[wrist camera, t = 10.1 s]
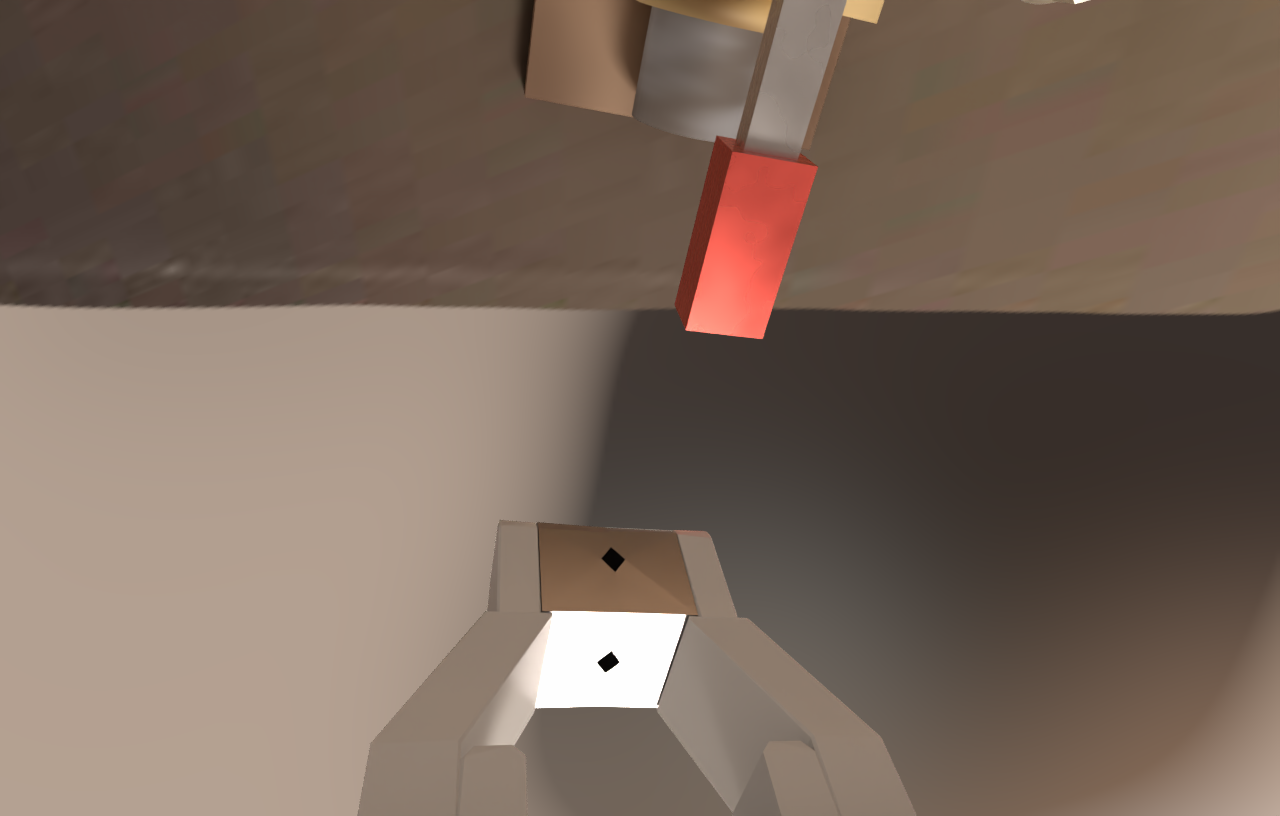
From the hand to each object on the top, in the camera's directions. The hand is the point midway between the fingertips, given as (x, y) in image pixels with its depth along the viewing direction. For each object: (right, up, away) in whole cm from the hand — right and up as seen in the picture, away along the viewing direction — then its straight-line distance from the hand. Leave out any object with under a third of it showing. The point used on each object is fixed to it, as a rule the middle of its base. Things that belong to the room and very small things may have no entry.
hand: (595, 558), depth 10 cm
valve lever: (+5, +12, +12) cm, 18 cm away
